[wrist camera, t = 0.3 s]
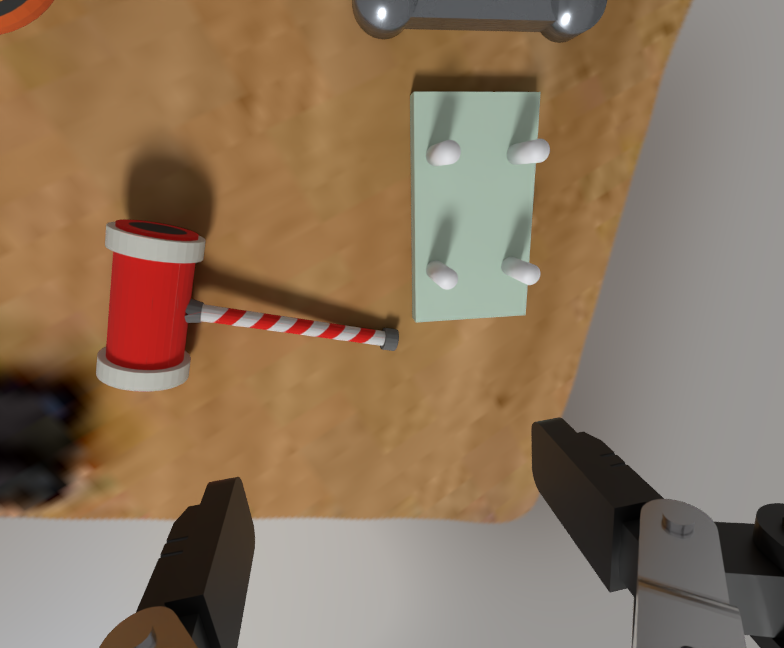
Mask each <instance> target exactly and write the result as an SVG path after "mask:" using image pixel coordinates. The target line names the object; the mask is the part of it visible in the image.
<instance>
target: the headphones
mask: <svg viewBox="0 0 784 648" xmlns="http://www.w3.org/2000/svg"><path fill="white" fill-rule="evenodd" d="M53 1H54V0H3V1H1V2H0V35H1V34H5V33H8V32H12V31H15V30H17V29H19V28H21V27H24V26H26V25H28V24H29V23H31V22H32V21H34V20H35V19H37V18H38V17H39V16H40V15H42V14H43V13H44V12H45V11H46V10H47V9H48V8H49V6H50V5H51V4H52V3H53Z"/></svg>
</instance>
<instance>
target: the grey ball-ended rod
mask: <svg viewBox="0 0 784 648" xmlns="http://www.w3.org/2000/svg"><path fill="white" fill-rule="evenodd" d="M606 4H607V0H352V8H353V13H354V16H355V19H356V21H357V23H358V24H359V26H360V27H361V28H362V29H363V30H364V31H365V32H366V33H367V34H368V35H370V36H372V37H374V38H378V39H389V38H392V37H395V36H397V35H398V34H399V33H401V32H402V31H403V30H404V29H431V30H475V31H519V32H541V33H542V35H543V36H544V37H546V38H547V39H548V40H550V41H553V42H558V43H561V42H566V41H569V40H571V39H573V38H574V37H576V36H578V35H579V34H581V33H583V32H585V31H586V30H588V29H590V28H591V27H593V26H594V25H595V24H596V23H597V22H598V21H599V19H600V18H601V16H602V15H603V13H604V10H605V7H606Z"/></svg>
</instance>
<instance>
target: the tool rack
mask: <svg viewBox="0 0 784 648" xmlns="http://www.w3.org/2000/svg"><path fill="white" fill-rule="evenodd" d="M539 107H540V92H413V93H412V94H411V95H410V134H411V231H412V318H413V319H414V321H415V322H428V321H443V320H458V319H473V318H488V317H502V316H517V315H525V314H526V300H527V285H532V284H534V283H536V282H537V281H538V279H539V278H540V269H539V268H538V267H537V266H536V265H533V264H531V263H529V255H530V240H531V225H532V211H533V196H534V181H535V166H536V163H540V162H543V161H544V160H545V159H546V158H547V157H548V155H549V152H550V147H549V144H548V143H547V141H545V140H544V139H537V137H538V122H539Z"/></svg>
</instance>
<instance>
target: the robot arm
mask: <svg viewBox="0 0 784 648" xmlns="http://www.w3.org/2000/svg"><path fill="white" fill-rule="evenodd" d="M532 472H533V477H534V481H535V484H536V486H537V488H538V490H539V492H540V494H541V495H542V496H543V498H544V499H545V501H546V502H547V503H548V505H549V506H550V508H551V509H552V511H553V512H554V514H555V515H556V516H557V518H558V519H559V521H560V522H561V524H562V525H563V526H564V528H565V529H566V530H567V532H568V534H569V535H570V536H571V538H572V539H573V541H574V542H575V544H576V545H577V546H578V548H579V549H580V551H581V552H582V553H583V555H584V556H585V558H586V559H587V561H588V562H589V563H590V565H591V566H592V568H593V569H594V571H595V572H596V574H597V575H598V576H599V578H600V579H601V581H602V582H603V584H604V585H605V586H606V588H607V589H608V591H609V592H614V591H618V590H622V589H626V588H628V589H629V591H630V592H631V593H632V595H633V596H634V601H633V619H632V640H631V648H746V643H745V637H744V635H750V636H751V637H752V638H753V640H754V641H755V642H756V643H757V644H758V645H759V647H760V648H784V504H780V503H775V504H768V505H765V506H762V507H761V508H760V509H758V511H757V514H756V519H755V524H745V523H726V522H714V521H713V520H712V519H711V518H710V517H709V516H708V515H707V514H706V513H704V512H703V511H701V510H700V509H698V508H696V507H694V506H692V505H690V504H687V503H685V502H681V501H677V500H672V499H664V498H663V497H662V496H661V495H660V494H658V493H657V492H656V491H655V490H654V489H653V488H652V487H651V486H650V485H649V484H647V482H645V481H644V480H643V479H642V478H641V477H640V476H639V475H638V474H637V473H636V472H635V471H634V470H632V468H630V467H629V466H628V465H625V462H624V461H623V460H622V459H621V458H620V457H619V456H618V455H615V454H614V452H613V451H612V450H611V449H610V448H609V447H608V446H607V445H606V444H605V443H603V442H602V441H601V440H599V439H597V438H595V437H593V436H591V435H589V434H587V433H585V432H579V433H577V432H575V430H574V429H573V428H572V427H571V426H570V425H569V424H568V423H566V422H565V421H564V420H563V419H562V418H554V419H548V420H543V421H538V422H534V423H533V424H532ZM254 549H255V532H254V525H253V521H252V517H251V513H250V510H249V506H248V502H247V498H246V495H245V491H244V487H243V483H242V481H241V479H240V477H235V478H229V479H224V480H219V481H213V482H209V483H208V485H207V487H206V490H205V492H204V495H203V498H202V501H201V503H200V505H195V506H189V507H188V508H187V509H186V510H185V511H184V512H183V513H182V515H181V516H180V517H179V518H178V519H177V520H176V521H175V522H174V524H173V526H172V529H171V531H170V534H169V536H168V538H167V544H165V545H164V548H163V550H162V552H161V558H159V559H158V562H157V564H156V566H155V569H154V571H153V573H152V576H151V578H150V580H149V583H148V586H147V588H146V590H145V592H144V595H143V597H142V599H141V602H140V604H139V606H138V609H137V611H136V613H135V614H133V615H131V616H129V617H128V618H126V619H125V620H123V621H122V622H121V623H119V624H118V625H117V626H116V627H115V628H114V629H113V630H112V631H111V632H110V633H109V634H108V635H107V637H106V638H105V639H104V641H103V642H102V644H101V645H100V647H99V648H237V646H238V639H239V634H240V628H241V622H242V617H243V612H244V606H245V600H246V593H247V588H248V583H249V578H250V572H251V566H252V561H253V555H254Z"/></svg>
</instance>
